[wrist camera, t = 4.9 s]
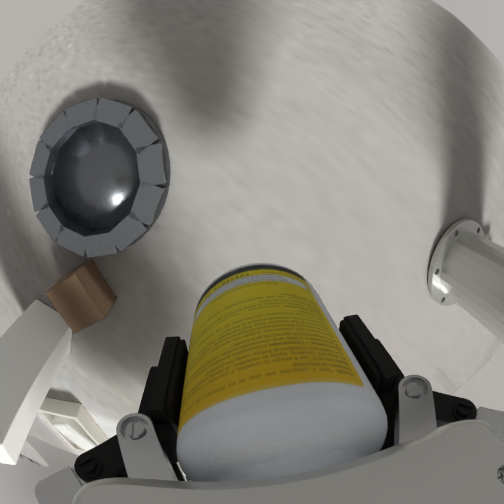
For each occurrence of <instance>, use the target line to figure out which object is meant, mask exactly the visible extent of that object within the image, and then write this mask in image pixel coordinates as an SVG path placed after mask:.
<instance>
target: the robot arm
mask: <svg viewBox="0 0 504 504" xmlns="http://www.w3.org/2000/svg"><path fill="white" fill-rule="evenodd" d="M428 288H429V292H430V295H431V297H432V298H433V299H434V300H435V301H436V302H437V303H438V304H440V305H443V306H450V305H452V304H455V303H457V304H458V305H459V306H460V307H462V308H463V309H464V310H465V311H467V312H468V313H469V314H470V315H472V316H473V317H474V318H475V319H476V320H478V321H479V322H480V323H481V324H482V325H483V326H485V327H486V328H487V329H488V330H489V331H490V332H492V333H493V334H494V335H495V336H496V337H497V338H498V339H499V340H501V341H502V342H503V343H504V247H502V246H500V245H498V244H496V243H494V242H492V241H490V240H488V239H486V238H485V235H484V231H483V229H482V227H481V226H480V225H479V224H478V223H477V222H475V221H473V220H470V219H461V220H459V221H457V222H456V223H454V224H453V225H452V226H451V227H450V228H449V229H448V230H447V231H446V232H445V233H444V235H443V236H442V237H441V239H440V241H439V243H438V245H437V247H436V249H435V251H434V253H433V256H432V260H431V263H430V267H429V273H428ZM339 331H340V333H341V334H342V336H343V338H344V339H345V341H346V343H347V344H348V346H349V348H350V350H351V351H352V353H353V355H354V356H355V358H356V360H357V361H358V363H359V365H360V366H361V368H362V370H363V372H364V373H365V375H366V377H367V379H368V380H369V382H370V384H371V385H372V387H373V389H374V391H375V392H376V394H377V396H378V398H379V399H380V401H381V403H382V405H383V407H384V410H385V412H386V415H387V422H388V429H387V435H386V438H385V441H384V444H383V446H382V448H381V449H380V451H379V452H377V453H374V454H371V455H368V456H365V457H362V458H359V459H355V460H352V461H349V462H345V463H342V464H338V465H334V466H330V467H326V468H322V469H318V470H313V471H308V472H303V473H298V474H292V475H286V476H279V477H272V478H264V479H254V480H242V481H220V482H196V481H187V480H186V478H185V476H184V474H183V472H182V470H181V467H180V465H179V463H178V458H177V436H178V427H179V419H180V410H181V402H182V394H183V386H184V379H185V372H186V366H187V359H188V349H187V346H186V342H185V340H184V339H183V340H181V339H180V337H179V336H177V337H166V339H165V342H164V346H163V349H162V353H161V356H160V360H159V364H158V367H151V369H150V371H149V375H148V378H147V382H146V385H145V389H144V392H143V396H142V400H141V403H140V407H139V411H138V413H134V414H129V415H127V416H125V417H123V418H122V419H121V420H120V421H119V422H118V425H117V427H116V430H117V435H115V436H113V437H112V438H110V439H108V440H106V441H105V442H103V443H101V444H99V445H97V446H96V447H94V448H92V449H90V450H88V451H86V452H85V453H83V454H81V455H80V456H79V457H78V458H77V459H76V461H75V464H74V467H72V468H71V467H70V466H68V467H67V468H65V469H63V470H61V471H59V472H57V473H55V474H53V475H51V476H49V477H47V478H45V479H43V480H41V481H40V482H39V483H37V485H36V487H35V494H36V497H37V499H38V501H39V503H40V504H504V412H502V411H497V410H493V409H488V408H484V407H479V408H478V409H476V407H475V405H474V404H473V403H472V402H471V401H470V400H467V399H464V398H460V397H455V396H451V395H447V394H443V393H439V392H435V391H432V387H431V384H430V382H429V381H428V380H427V379H426V378H424V377H422V376H419V375H409V376H406V377H405V376H404V375H403V373H402V372H401V370H400V369H399V368H398V366H397V365H396V363H395V362H394V360H393V359H392V358H391V356H390V355H389V353H388V352H387V351H386V349H385V348H384V346H383V345H382V344H381V342H380V341H379V340H378V339H375V338H374V337H373V335H372V334H371V333H370V331H369V330H368V328H367V327H366V326H365V324H364V323H363V322H362V320H361V319H360V317H359V316H358V315H351V316H346V317H344V319H343V320H342V321H340V327H339Z"/></svg>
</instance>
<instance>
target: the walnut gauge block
mask: <svg viewBox="0 0 504 504" xmlns="http://www.w3.org/2000/svg"><path fill="white" fill-rule="evenodd" d="M46 295H47V296H48V298H49V299H50V301H51V302H52V304H53V305H54V307H55V308H56V310H57V311H58V312H59V314H60V315H61V317H62V318H63V319H64V321H65V322H66V323H67V325H68V326H69V327H70V329H71V330H72V331H73V333H75V332H77V331H79V330H81V329H83V328H85V327H87V326H89V325H92V324H94V323H96V322H98V321H100V320H102V319H104V318H105V317H106V316H107V314H108V312H109V311H110V309H111V307H112V306H113V304H114V302H115V301H116V299H117V297H116V296H115V294H114V293H113V291H112V290H111V288H110V287H109V285H108V284H107V282H106V281H105V279H104V278H103V276H102V275H101V273H100V271H99V270H98V268H97V267H96V265H95V263H94V262H93V260H92V258H91V259H90V260H88V261H86V262H85V263H83V264H82V265H80V266H79V267H77V268H76V269H74V270H73V271H71V272H69V273H68V274H66V275H65V276H63V277H62V278H61V279H60V280H59V281H58V282H57V283H56V284H55V285H54V286H53V287H52V288H51V289H50V290H49V291H48V292H47V293H46Z"/></svg>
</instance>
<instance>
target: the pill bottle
mask: <svg viewBox="0 0 504 504" xmlns="http://www.w3.org/2000/svg"><path fill="white" fill-rule="evenodd" d="M387 429H388V422H387V415H386V412H385V410H384V407H383V405H382V403H381V401H380V399H379V398H378V396H377V394H376V392H375V391H374V389H373V387H372V385H371V384H370V382H369V380H368V379H367V377H366V375H365V373H364V372H363V370H362V368H361V366H360V365H359V363H358V361H357V360H356V358H355V356H354V355H353V353H352V351H351V350H350V348H349V346H348V344H347V343H346V341H345V339H344V338H343V336H342V334H341V333H340V331H339V329H338V328H337V326H336V324H335V323H334V321H333V319H332V318H331V316H330V314H329V313H328V311H327V309H326V307H325V306H324V304H323V302H322V300H321V299H320V297H319V295H318V294H317V292H316V291H315V289H314V288H313V286H312V285H311V284H310V283H309V282H308V281H307V280H306V279H305V278H304V277H303V276H301V275H300V274H298V273H297V272H295V271H293V270H291V269H289V268H287V267H284V266H280V265H276V264H269V263H255V264H248V265H244V266H240V267H237V268H234V269H232V270H230V271H228V272H226V273H224V274H223V275H221V276H219V277H218V278H217V279H216V280H214V281H213V282H212V283H211V284H210V285H209V286H208V288H207V289H206V290H205V292H204V293H203V294H202V296H201V298H200V300H199V302H198V305H197V308H196V311H195V316H194V322H193V328H192V334H191V340H190V346H189V352H188V359H187V366H186V372H185V379H184V386H183V394H182V402H181V410H180V419H179V427H178V436H177V458H178V462H179V464H180V467H181V469H182V471H183V472H184V474H185V475H186V476H187V477H188V478H189V479H190V480H191V481H196V482H220V481H242V480H254V479H264V478H272V477H279V476H286V475H292V474H298V473H303V472H308V471H313V470H318V469H322V468H326V467H330V466H334V465H338V464H342V463H345V462H349V461H352V460H355V459H359V458H362V457H365V456H368V455H371V454H374V453H377V452H379V451H380V449H381V448H382V446H383V444H384V441H385V438H386V435H387Z"/></svg>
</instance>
